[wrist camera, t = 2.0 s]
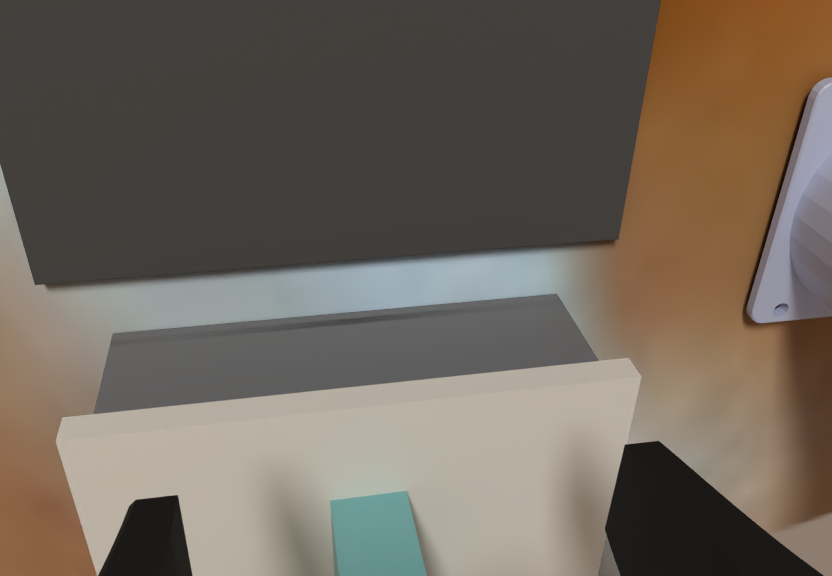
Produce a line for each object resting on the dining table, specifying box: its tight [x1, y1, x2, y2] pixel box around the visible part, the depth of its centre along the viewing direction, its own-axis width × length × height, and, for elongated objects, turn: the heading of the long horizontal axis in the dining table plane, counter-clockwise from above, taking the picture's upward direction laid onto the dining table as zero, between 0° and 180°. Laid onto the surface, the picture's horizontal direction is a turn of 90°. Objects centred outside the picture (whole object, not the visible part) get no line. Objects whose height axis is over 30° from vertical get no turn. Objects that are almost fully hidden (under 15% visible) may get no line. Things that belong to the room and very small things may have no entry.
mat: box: [0, 0, 661, 285], centre depth 18 cm, size 16×13×1 cm
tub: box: [94, 294, 599, 414], centre depth 24 cm, size 13×11×4 cm
